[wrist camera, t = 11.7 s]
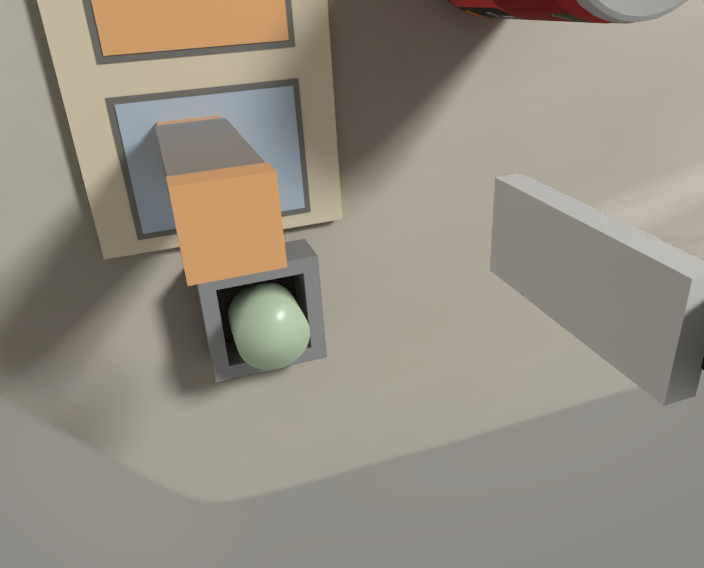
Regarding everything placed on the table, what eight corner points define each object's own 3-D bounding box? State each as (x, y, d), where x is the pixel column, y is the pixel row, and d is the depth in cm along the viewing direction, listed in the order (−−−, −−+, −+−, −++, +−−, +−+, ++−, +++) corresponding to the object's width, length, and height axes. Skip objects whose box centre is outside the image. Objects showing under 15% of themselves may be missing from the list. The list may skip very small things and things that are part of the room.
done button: (223, 289, 30) (231, 312, 28) (292, 275, 31) (306, 297, 29) (233, 350, 32) (241, 377, 30) (299, 335, 33) (313, 361, 31)
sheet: (-6, -175, 22) (-11, -180, 21) (311, -171, 25) (316, -176, 25) (104, 255, 29) (103, 260, 29) (339, 215, 33) (343, 219, 32)
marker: (152, 119, 27) (168, 187, 17) (221, 111, 28) (276, 171, 18) (165, 186, 28) (187, 286, 18) (231, 176, 29) (287, 267, 19)
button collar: (191, 259, 31) (196, 278, 29) (304, 239, 33) (317, 255, 30) (210, 358, 34) (216, 382, 31) (314, 335, 35) (326, 357, 33)
